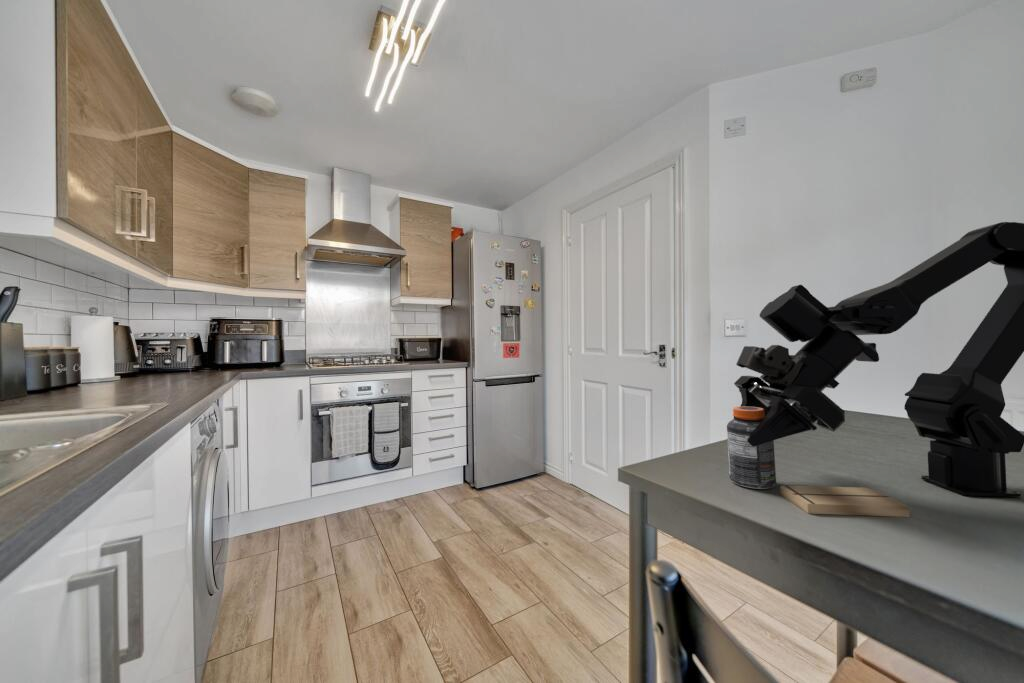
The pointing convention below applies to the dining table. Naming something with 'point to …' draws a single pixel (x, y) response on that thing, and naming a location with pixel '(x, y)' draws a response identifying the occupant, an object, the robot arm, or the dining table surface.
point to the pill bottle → (749, 451)
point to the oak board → (844, 501)
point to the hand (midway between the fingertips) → (740, 438)
